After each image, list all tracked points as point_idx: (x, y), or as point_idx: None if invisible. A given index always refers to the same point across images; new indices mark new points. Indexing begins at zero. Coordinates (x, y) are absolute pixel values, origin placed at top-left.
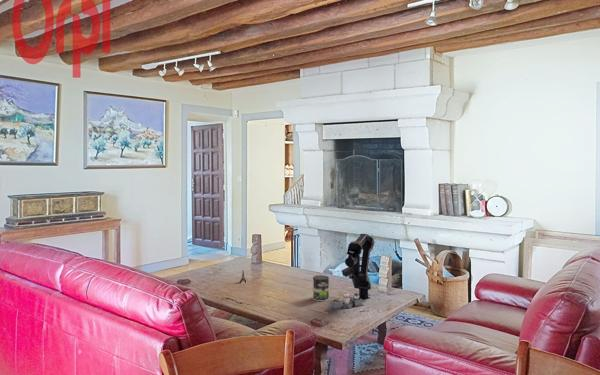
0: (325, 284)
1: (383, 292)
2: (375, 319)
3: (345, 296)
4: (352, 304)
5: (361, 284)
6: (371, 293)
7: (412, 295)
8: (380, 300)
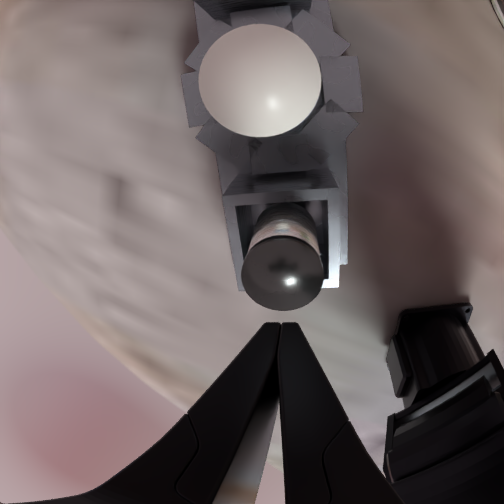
0: None
1: None
2: (3, 221)
3: (215, 48)
4: (213, 144)
5: (436, 428)
6: None
7: None
8: None
